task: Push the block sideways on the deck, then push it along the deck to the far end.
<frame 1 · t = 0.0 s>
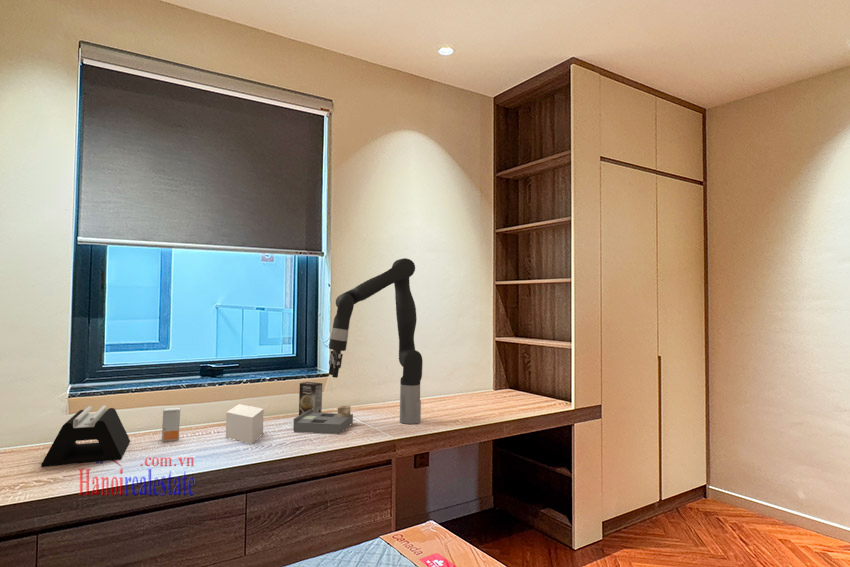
hand: (332, 376, 222), 22 cm above the table, tool pointing down, fingers open, 8 cm apart
beige boxy piece: (244, 436, 206), on the table
coffee box: (310, 417, 241), on the table
device stand: (89, 455, 179), on the table
block: (343, 415, 227), point 4 cm above the table, touching deck
deck: (324, 427, 221), on the table
skincare box: (170, 440, 199), on the table
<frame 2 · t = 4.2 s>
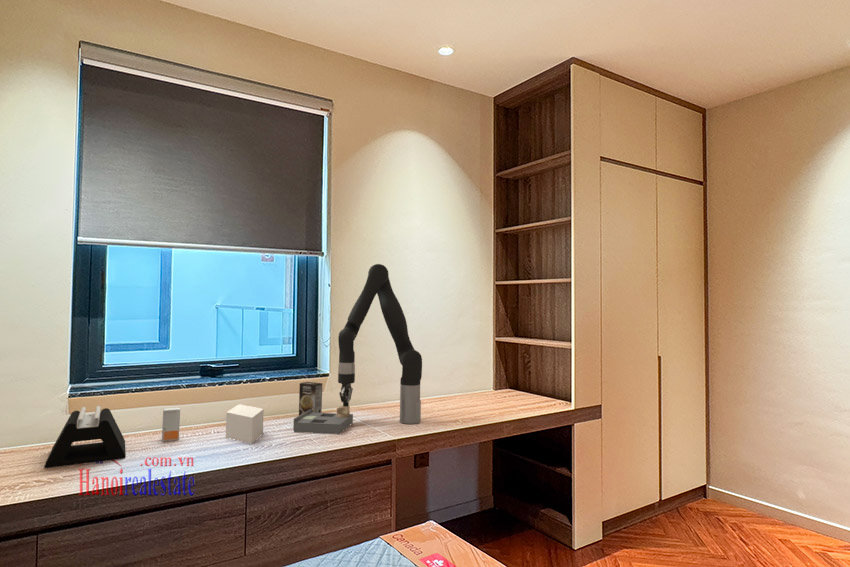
hand: (345, 410, 230), 6 cm above the table, tool pointing down, fingers closed
block: (343, 416, 226), point 4 cm above the table, touching gripper
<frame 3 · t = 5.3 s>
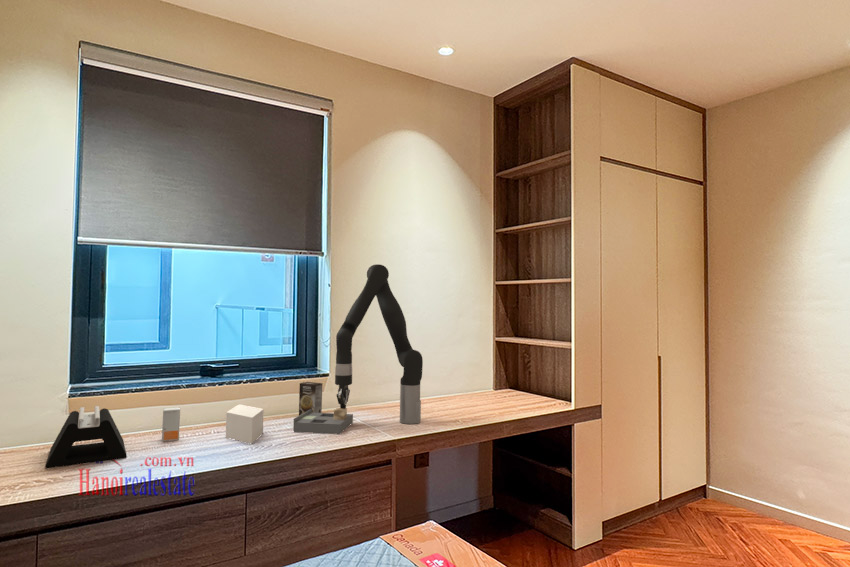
hand: (343, 412, 225), 6 cm above the table, tool pointing down, fingers closed
block: (340, 418, 221), point 4 cm above the table, touching gripper
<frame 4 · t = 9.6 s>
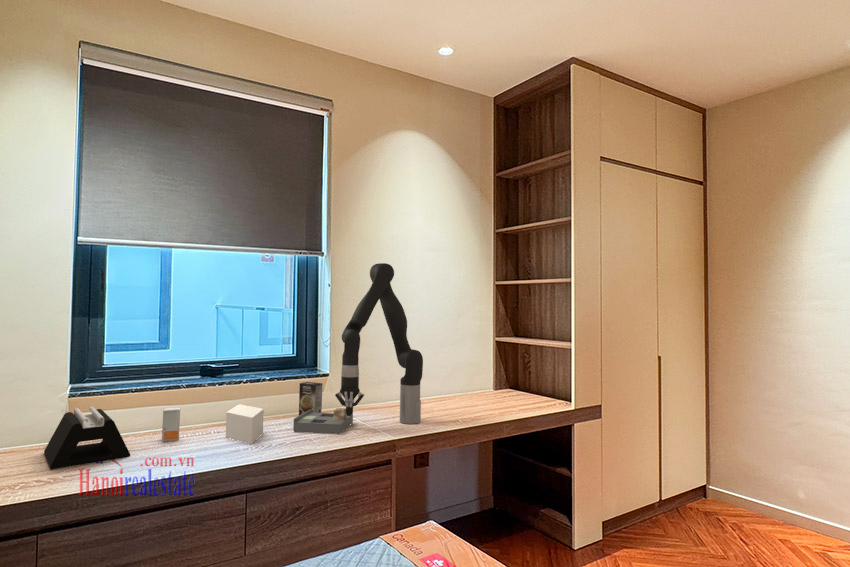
hand: (349, 415, 220), 6 cm above the table, tool pointing down, fingers closed
block: (340, 418, 221), point 4 cm above the table, touching deck, gripper
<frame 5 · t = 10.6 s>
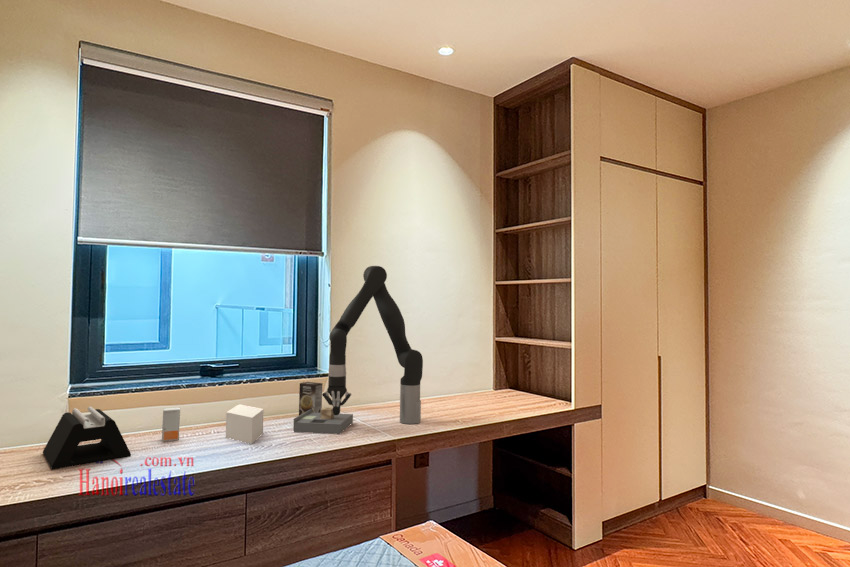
hand: (336, 414, 221), 6 cm above the table, tool pointing down, fingers closed
block: (327, 417, 222), point 4 cm above the table, touching gripper
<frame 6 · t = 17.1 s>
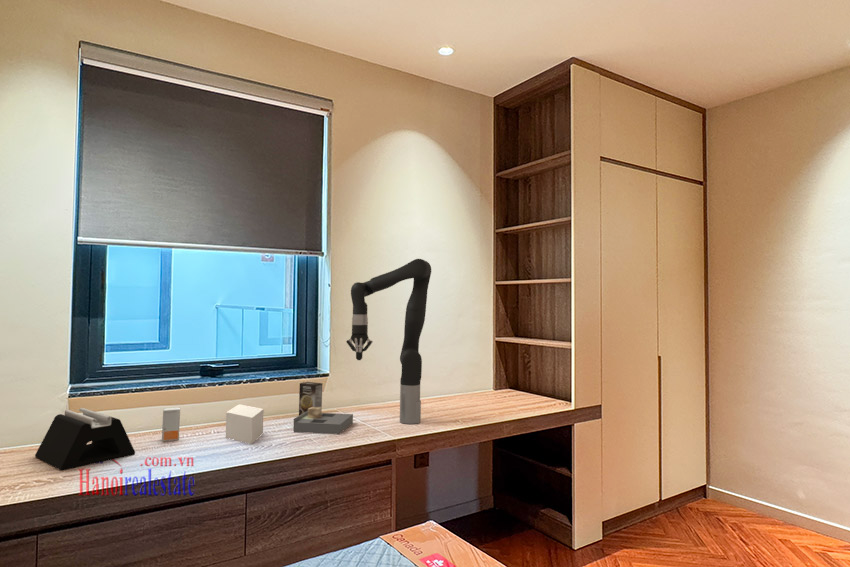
hand: (359, 360, 244), 27 cm above the table, tool pointing down, fingers closed
block: (314, 417, 223), point 4 cm above the table, touching deck
at the end: block 2.1 cm from the target spot on the deck, point 4.0 cm above the deck's base; block tilted 0°; block moved 12.9 cm from its start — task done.
